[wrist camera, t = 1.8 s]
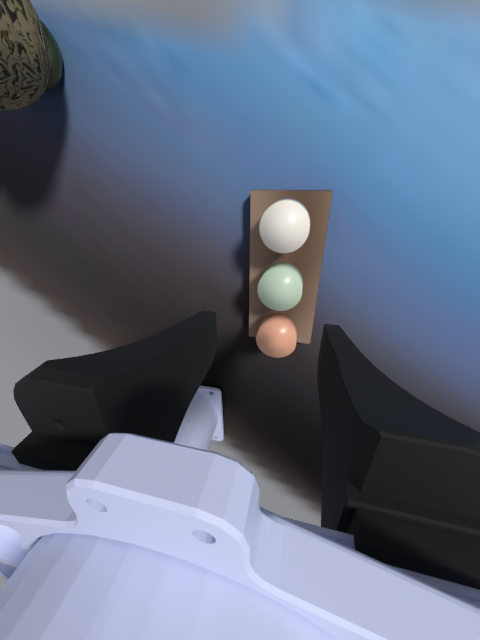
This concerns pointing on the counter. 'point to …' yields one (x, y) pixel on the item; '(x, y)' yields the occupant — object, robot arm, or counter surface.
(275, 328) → the terracotta button
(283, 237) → the cream button
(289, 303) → the sage button
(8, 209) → the counter surface
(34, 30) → the cup
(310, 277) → the button panel
